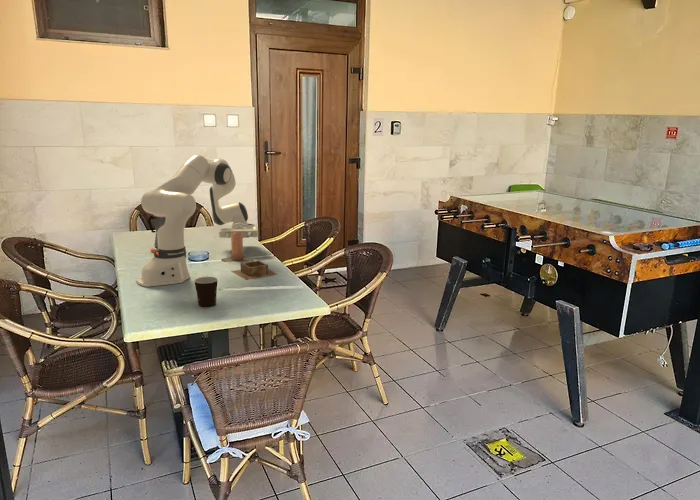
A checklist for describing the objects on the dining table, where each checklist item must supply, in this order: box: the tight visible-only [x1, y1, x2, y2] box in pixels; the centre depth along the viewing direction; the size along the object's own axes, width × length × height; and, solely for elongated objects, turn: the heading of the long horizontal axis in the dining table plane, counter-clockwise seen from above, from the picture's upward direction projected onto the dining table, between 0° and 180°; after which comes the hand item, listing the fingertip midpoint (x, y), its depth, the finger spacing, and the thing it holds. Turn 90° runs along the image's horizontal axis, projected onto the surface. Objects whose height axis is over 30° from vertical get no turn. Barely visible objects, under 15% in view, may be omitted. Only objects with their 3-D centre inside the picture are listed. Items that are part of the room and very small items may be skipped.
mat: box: [221, 255, 255, 263], centre depth 265 cm, size 12×12×1 cm
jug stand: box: [230, 260, 278, 281], centre depth 242 cm, size 16×16×5 cm
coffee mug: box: [194, 276, 218, 309], centre depth 204 cm, size 12×9×10 cm
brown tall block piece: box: [230, 231, 244, 262], centre depth 262 cm, size 8×6×14 cm
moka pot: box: [147, 215, 166, 248], centre depth 288 cm, size 10×15×20 cm, turn 147°
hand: (238, 236), depth 270 cm, fingers open, 8 cm apart
